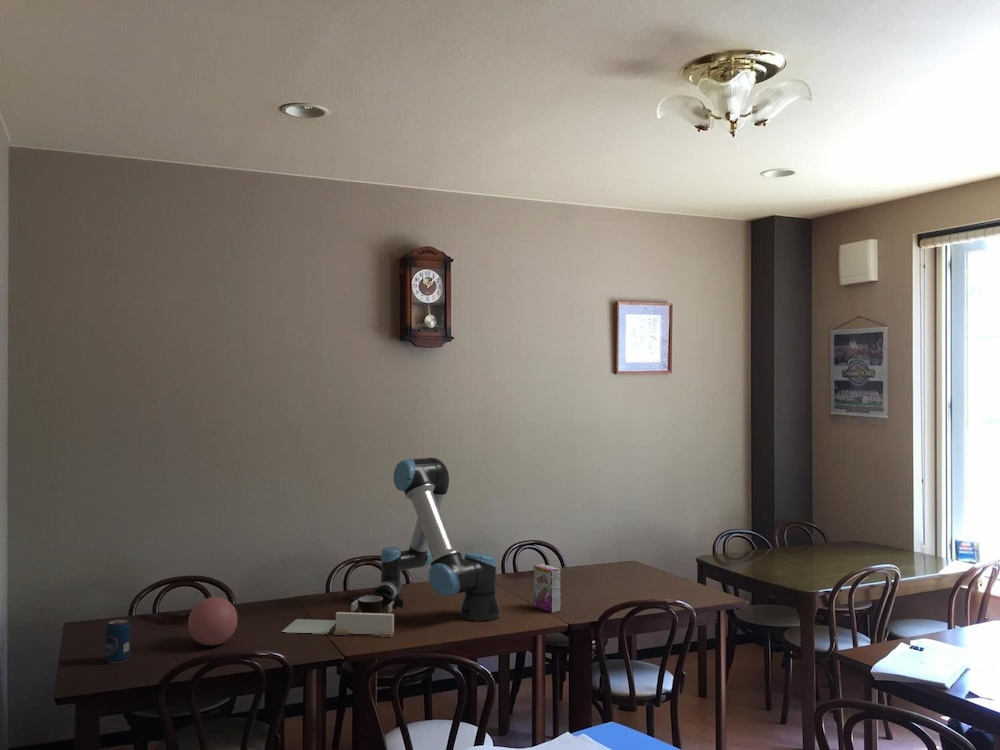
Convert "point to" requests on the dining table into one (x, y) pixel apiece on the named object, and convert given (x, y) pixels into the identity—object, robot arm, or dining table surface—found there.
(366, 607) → the coffee mug
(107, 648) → the soda can
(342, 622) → the white rectangular block
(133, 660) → the dining table surface
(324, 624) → the mat
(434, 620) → the dining table surface
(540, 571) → the candy bar box
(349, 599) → the robot arm
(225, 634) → the balloon
